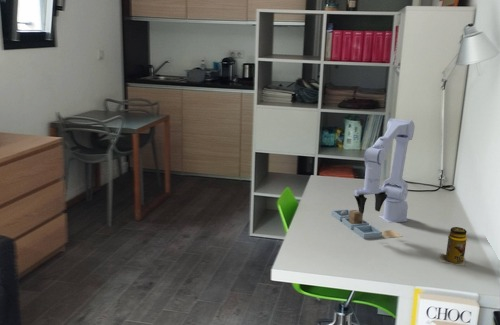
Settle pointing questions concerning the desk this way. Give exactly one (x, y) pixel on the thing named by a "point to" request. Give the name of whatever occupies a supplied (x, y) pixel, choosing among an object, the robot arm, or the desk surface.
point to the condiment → (455, 247)
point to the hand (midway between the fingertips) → (369, 211)
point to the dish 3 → (367, 231)
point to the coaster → (390, 234)
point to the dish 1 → (339, 214)
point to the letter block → (355, 217)
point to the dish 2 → (351, 226)
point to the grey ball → (344, 213)
